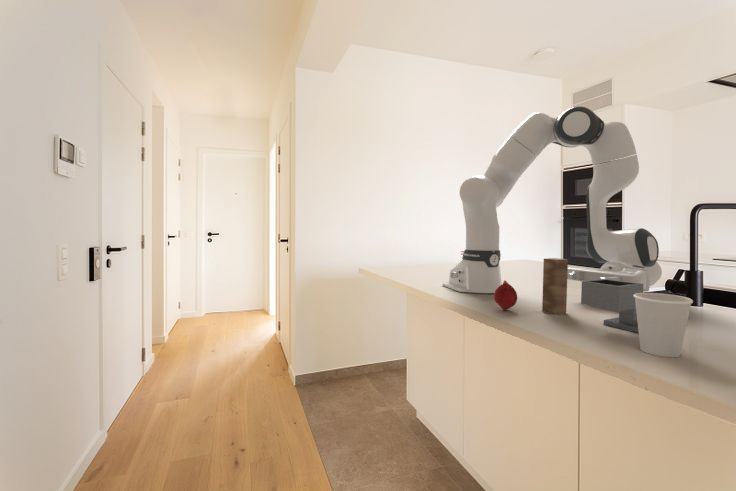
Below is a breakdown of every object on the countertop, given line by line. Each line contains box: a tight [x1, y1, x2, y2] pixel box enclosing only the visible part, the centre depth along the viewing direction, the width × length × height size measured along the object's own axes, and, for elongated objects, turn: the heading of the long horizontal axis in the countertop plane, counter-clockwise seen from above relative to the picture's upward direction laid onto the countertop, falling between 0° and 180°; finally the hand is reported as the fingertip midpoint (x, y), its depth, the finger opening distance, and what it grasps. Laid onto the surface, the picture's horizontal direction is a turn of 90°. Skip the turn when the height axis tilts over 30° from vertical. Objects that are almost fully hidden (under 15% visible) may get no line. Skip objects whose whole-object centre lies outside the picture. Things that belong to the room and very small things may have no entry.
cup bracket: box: [580, 279, 644, 334], centre depth 81 cm, size 8×14×10 cm, turn 115°
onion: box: [493, 279, 518, 311], centre depth 99 cm, size 6×6×8 cm
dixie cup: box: [633, 292, 694, 358], centre depth 66 cm, size 8×8×10 cm
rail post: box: [541, 257, 569, 316], centre depth 96 cm, size 4×4×14 cm
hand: (585, 278), depth 101 cm, fingers open, 8 cm apart
